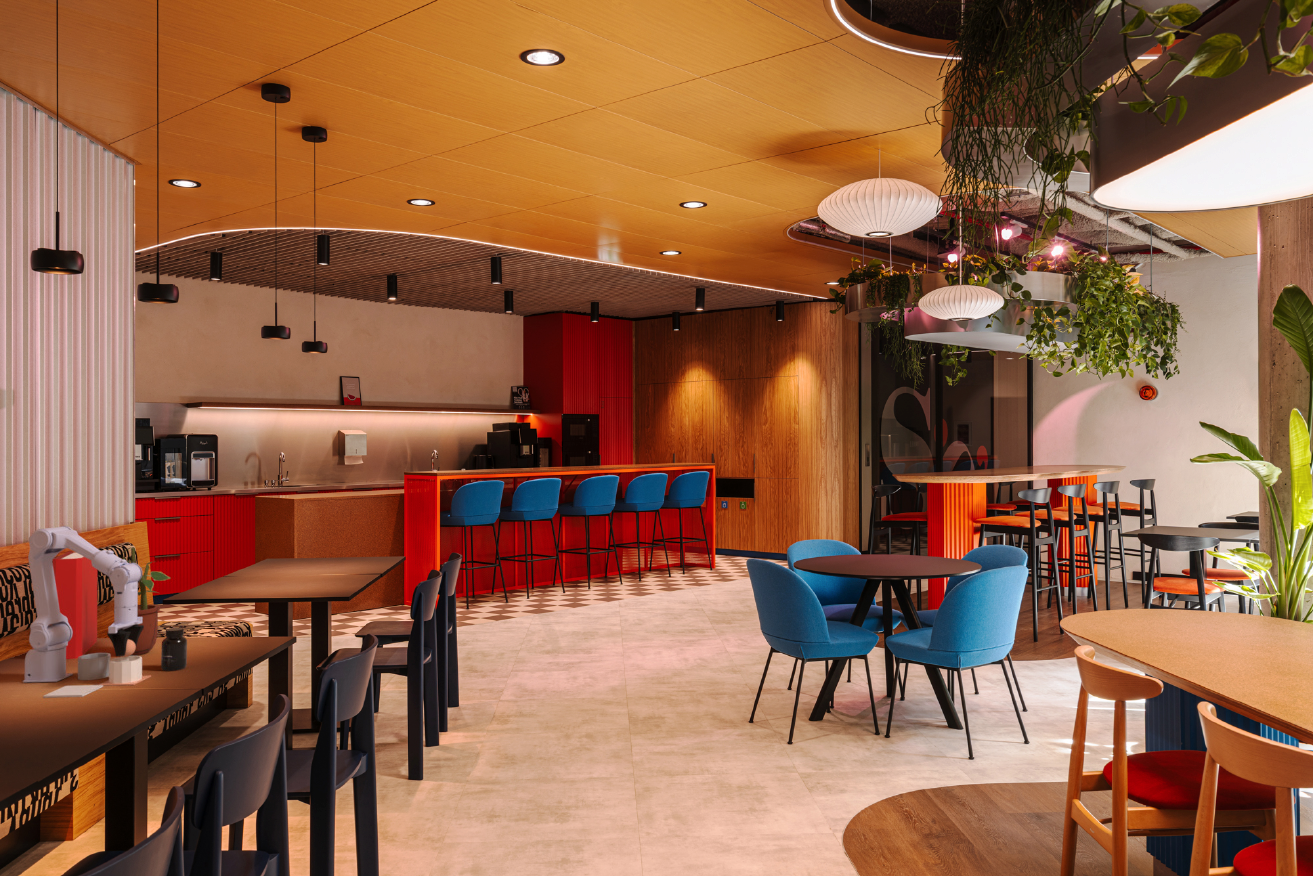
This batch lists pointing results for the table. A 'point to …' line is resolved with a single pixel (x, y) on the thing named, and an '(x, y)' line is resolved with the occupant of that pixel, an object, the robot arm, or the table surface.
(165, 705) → the table surface
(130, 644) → the terracotta ball
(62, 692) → the ball mat
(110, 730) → the table surface
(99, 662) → the grey faceted cup
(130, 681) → the tube
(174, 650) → the supplement bottle
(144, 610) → the potted plant
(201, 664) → the table surface
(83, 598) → the book
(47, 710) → the table surface
